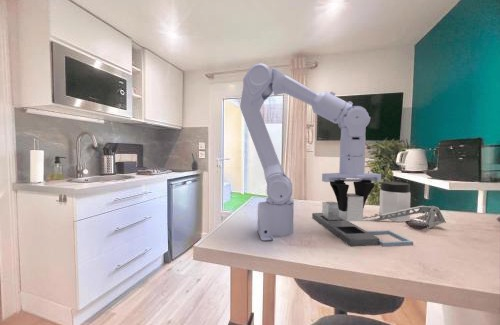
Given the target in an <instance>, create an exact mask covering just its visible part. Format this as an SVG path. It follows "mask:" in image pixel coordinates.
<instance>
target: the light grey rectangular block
mask: <svg viewBox="0 0 500 325" xmlns="http://www.w3.org/2000/svg"><path fill="white" fill-rule="evenodd" d="M339 217H340V218H342V219H344V220H346V221H349V222H363V221H364V219H363V217H364V208H363V196H360V195H357V194H355V193H348V192H347V197H346V210H345V211H341V210H339Z"/></svg>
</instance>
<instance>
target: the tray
mask: <svg viewBox="0 0 500 325" xmlns="http://www.w3.org/2000/svg"><path fill="white" fill-rule="evenodd" d="M366 231H367V232H369V233H370V234H372V235H374V236H377V235H381V236H382V235H389V236H391V237H393V238H395V239H398V240H394V241H393V240H392V241H390V240H389V241H384V240H382V239H380V240H379V245H378V246H381V247H403V246H404V247H406V246H414V241H413V240H411V239H409V238H406V237H404V236H402V235H400V234H399V233H396V232H394V231H392V230H389V229H387V230H383V229H382V230H366Z"/></svg>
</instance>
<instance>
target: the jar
mask: <svg viewBox="0 0 500 325" xmlns="http://www.w3.org/2000/svg"><path fill="white" fill-rule="evenodd" d="M410 185H411V184H410V183H407V182H400V181H381V182H380V189H379V213H378V215H382V214H386V213H391V212H395V211H400V210H404V209H409V208H411V196H412V195H411V194H412V193H411V191H410V188H411V186H410ZM405 212H406V211H404V212H402V213H404V214H405ZM409 213H411V211H410V212H409ZM400 214H401V213H398V215H400ZM394 215H395V214H392V216H394ZM410 216H411V215H407V216H401V217H396V218H390V219H388V221H391V222H395V223H406V221H409V220H410V221H411V218H410ZM384 217H385V216H383V218H384ZM388 217H390V215H388ZM410 221H409V222H410Z"/></svg>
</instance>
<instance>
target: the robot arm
mask: <svg viewBox="0 0 500 325" xmlns="http://www.w3.org/2000/svg"><path fill="white" fill-rule="evenodd" d="M242 79H243V80H242V82H243V83H242V84H243V85H242V92H241V97H240V102H239V103H240V104H239V106H240V112H241V114H242V117H243V119H244V121H245V124H246V126H247V130H248V133H249V135H250V137H251V139H252V143H253V146H254V148H255V151H256V153H257V156H258V159H259V161H260V164H261V166H262V169H263V172H264V173H263V174H264V179H265V183H266V195H267V197H266V199H265V201H259V202H258V204H257V224H256V225H257V227H256V228H257V229H256V230H257V232H258V234H259V235H258V236H259V237H260V240H261V241H274V239H273V237H288V236H292V235H293V234H294V208H295V207H294V205H295V204H294V201H295V200H294V199H293V198H292V195H293V183H292V180H291V179H290V178H289V177H288V176H287V175H286V174H285V172H284V169H283V167H282V165H281V163H280V160H279V158H278V154H277V152H276V150H275V146H274V144H273V141H272V138H271V136H270V134H269V131H268V129H267V126H266V123H265V120H264V117H263V116H262V112H261V108H262V107H263V104H264V102H265V101H266V100H267V99H268V98H269V97H270V96H271V95H272V94H273V96H277V95H282V94H286V95H288V96H290V97H292V98H295V99H297V100H298V101H301V102H303V103H305V104H308V105H310V106H311V108H312V112H313V113H314V114H316V115H318V116H320V117H321V118H324V119H325V120H327V121H330V122H331V123H333V124H337V125H338V128H339V129H340V139H339V140H340V141H339V145H340V146H339V172H333V173H332V172H331V173H327V172H326V173H322V174H321V182H324V183H329V185H330V187H331V189H332V191H333V193H334V196H335V199H336V202H337V203H338V208H339V210H341V211H345V210H346V197H347V193H348V191H349V188H350V184H346V182H353V183H352V184H353V187H354V194H357V195H360V196H363V209H365V204H366V202H367V199H368V197H369V195H370V194H371V192H372V191H373V190H374V188H375V183H377V182H379V183H381V182H382V174H381V173H375V172H373V173H372V172H371V173H370V172H368V173H365V169H366V168H365V165H366V131H367V129H366V127H368V125H369V124H370V122H371V118H372V117H371V116H369V112H368V111H367V109H366V108H365V107H363V106H361V105H353V104H354V103H353V102H352V101H350V100H349V101H346V100H344V99H342V98H340V97H337V96H336V92H334V91H330V92H328V91H322V92H317V91H314V90H313V89H312V88H309V87H308V86H306V85H304V84H302V83H301V82H299V81H297V80H296V79H294V78H292V77H290V76H288V75H286V74H285V73H283V72H282V71H280V70H279V69H277V68H275V67H270V66H268V65H267V64H265V63H263V62H258V63H255V64H253V65H251V66H250V67H249V69H248V70H247V72H246V73H245V75H244V76H243V78H242ZM374 182H375V183H374Z"/></svg>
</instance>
